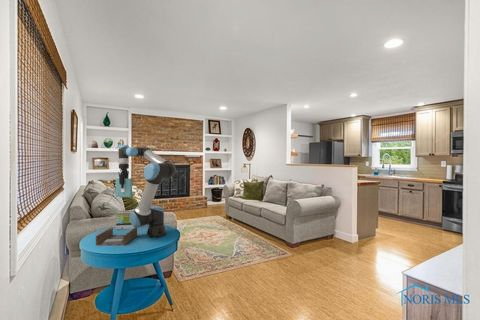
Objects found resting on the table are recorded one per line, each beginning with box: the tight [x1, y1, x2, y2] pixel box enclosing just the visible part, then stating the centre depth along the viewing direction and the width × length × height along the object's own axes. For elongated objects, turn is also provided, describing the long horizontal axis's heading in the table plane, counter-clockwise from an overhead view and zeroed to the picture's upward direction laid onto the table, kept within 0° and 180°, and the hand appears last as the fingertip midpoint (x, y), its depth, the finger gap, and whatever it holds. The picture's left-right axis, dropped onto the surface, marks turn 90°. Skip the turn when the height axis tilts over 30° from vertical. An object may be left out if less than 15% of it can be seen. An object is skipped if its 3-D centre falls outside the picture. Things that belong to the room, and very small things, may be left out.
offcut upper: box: [103, 239, 123, 244], centre depth 174 cm, size 12×5×2 cm, turn 97°
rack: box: [95, 227, 138, 247], centre depth 180 cm, size 20×20×8 cm
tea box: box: [115, 209, 135, 230], centre depth 216 cm, size 15×10×15 cm
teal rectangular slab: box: [115, 178, 133, 198], centre depth 200 cm, size 12×3×15 cm, turn 90°
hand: (124, 191), depth 200 cm, fingers closed on teal rectangular slab, 3 cm apart
